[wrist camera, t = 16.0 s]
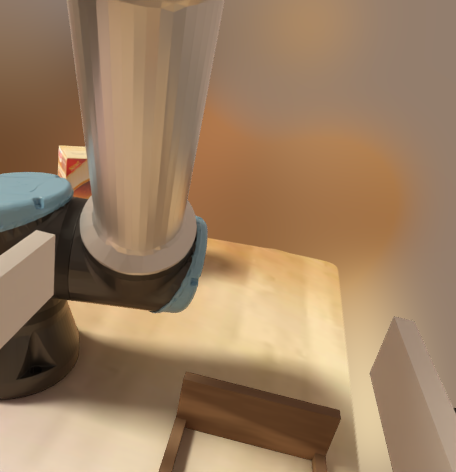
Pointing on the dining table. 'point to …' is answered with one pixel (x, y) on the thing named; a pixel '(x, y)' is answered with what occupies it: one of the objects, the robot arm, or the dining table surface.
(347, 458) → the dining table surface
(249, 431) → the shelf lane
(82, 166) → the coffeecake box
